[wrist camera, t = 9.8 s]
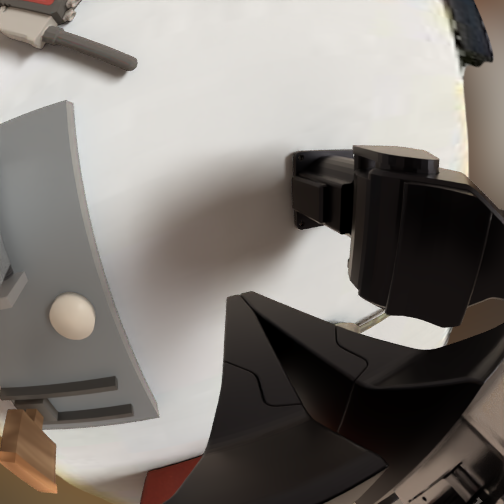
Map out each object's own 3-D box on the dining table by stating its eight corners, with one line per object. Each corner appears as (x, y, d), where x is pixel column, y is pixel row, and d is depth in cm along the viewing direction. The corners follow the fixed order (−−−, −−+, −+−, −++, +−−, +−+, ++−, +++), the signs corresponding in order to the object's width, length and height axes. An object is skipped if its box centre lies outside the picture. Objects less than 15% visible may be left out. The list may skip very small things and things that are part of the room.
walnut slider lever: (35, 382, 18) (22, 463, 10) (65, 421, 21) (64, 494, 13) (7, 384, 17) (-10, 459, 9) (37, 422, 20) (32, 490, 12)
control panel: (73, 103, 14) (48, 92, 10) (157, 403, 27) (165, 445, 22) (-74, 169, 10) (-111, 183, 5) (38, 417, 22) (34, 454, 17)
